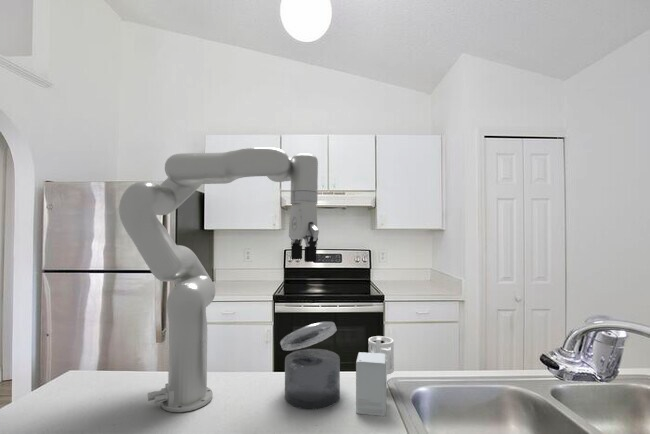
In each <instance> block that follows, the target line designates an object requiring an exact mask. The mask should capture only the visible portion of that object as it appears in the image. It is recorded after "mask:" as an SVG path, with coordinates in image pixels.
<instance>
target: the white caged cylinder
mask: <svg viewBox="0 0 650 434" xmlns="http://www.w3.org/2000/svg"><path fill="white" fill-rule="evenodd" d="M382 341H384V342H385V343H382ZM394 349H395V348H394V339H393V338H392V337H388V336H382V335H376V336H371V337H369V338H368V353H382V354H386V392H387V391H388V384H387V381H388V379H387V378H388V375H391V374H392V373H393V374H394V370H395V367H394V366H395V365H394V364H395V363H394V362H395V361H394V360H395V357H394V353H395V352H394Z"/></svg>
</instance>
